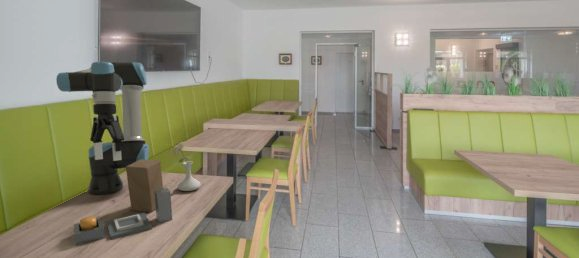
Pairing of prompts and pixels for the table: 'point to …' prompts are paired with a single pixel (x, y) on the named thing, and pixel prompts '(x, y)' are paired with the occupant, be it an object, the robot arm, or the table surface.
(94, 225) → the button
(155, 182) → the wooden block
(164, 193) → the steel billet
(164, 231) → the table surface
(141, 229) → the plate
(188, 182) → the flower in vase
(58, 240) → the table surface
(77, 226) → the button station
